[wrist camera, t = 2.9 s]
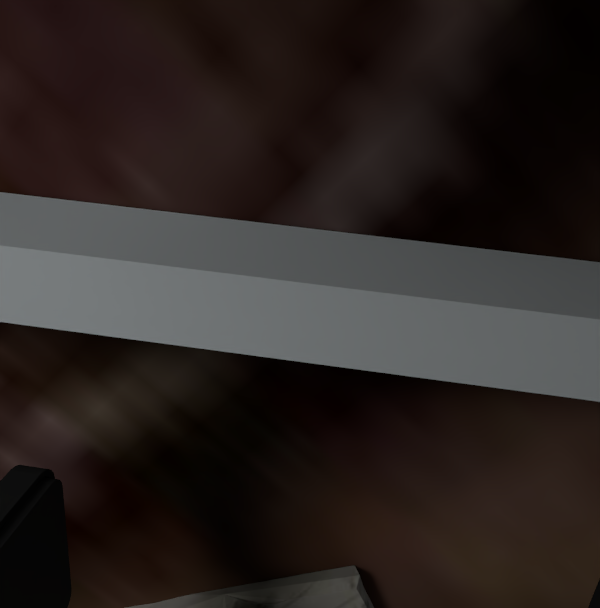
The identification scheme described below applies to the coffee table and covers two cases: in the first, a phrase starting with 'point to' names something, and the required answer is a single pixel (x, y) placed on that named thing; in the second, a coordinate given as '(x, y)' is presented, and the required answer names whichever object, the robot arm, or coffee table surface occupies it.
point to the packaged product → (283, 593)
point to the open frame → (303, 295)
